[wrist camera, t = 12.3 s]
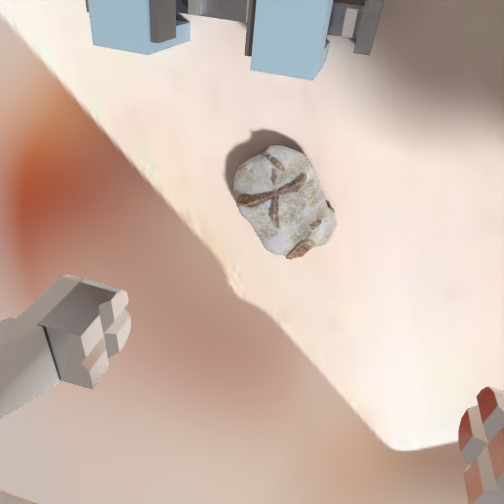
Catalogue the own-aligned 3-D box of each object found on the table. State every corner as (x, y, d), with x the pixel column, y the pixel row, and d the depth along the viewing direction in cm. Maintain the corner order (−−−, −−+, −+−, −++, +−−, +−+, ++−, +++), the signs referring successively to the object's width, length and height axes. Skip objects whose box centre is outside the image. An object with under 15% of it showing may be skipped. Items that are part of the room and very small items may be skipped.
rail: (383, -5, 30) (383, -3, 27) (370, 47, 32) (369, 55, 29) (105, -41, 34) (80, -42, 31) (110, 8, 36) (87, 11, 33)
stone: (222, 167, 42) (211, 180, 39) (297, 127, 38) (291, 138, 35) (277, 254, 47) (271, 271, 44) (350, 227, 42) (348, 244, 40)
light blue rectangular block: (343, -33, 30) (334, -34, 23) (326, 60, 34) (313, 80, 27) (277, -41, 31) (250, -45, 24) (267, 51, 34) (242, 68, 28)
